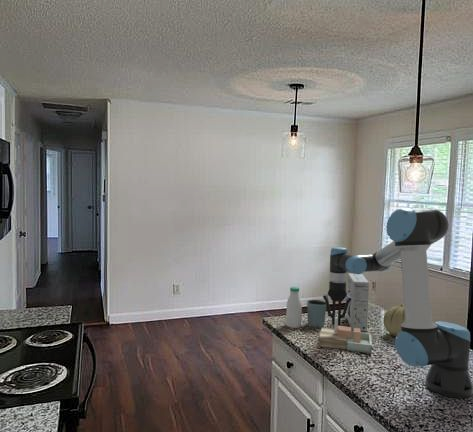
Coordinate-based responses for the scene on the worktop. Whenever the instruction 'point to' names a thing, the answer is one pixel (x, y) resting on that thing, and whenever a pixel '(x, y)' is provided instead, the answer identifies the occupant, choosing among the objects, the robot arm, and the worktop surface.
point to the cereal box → (357, 301)
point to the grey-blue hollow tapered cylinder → (316, 313)
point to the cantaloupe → (394, 319)
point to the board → (332, 339)
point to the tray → (360, 347)
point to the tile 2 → (357, 335)
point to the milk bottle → (294, 309)
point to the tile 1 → (344, 331)
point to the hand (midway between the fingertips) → (335, 331)
